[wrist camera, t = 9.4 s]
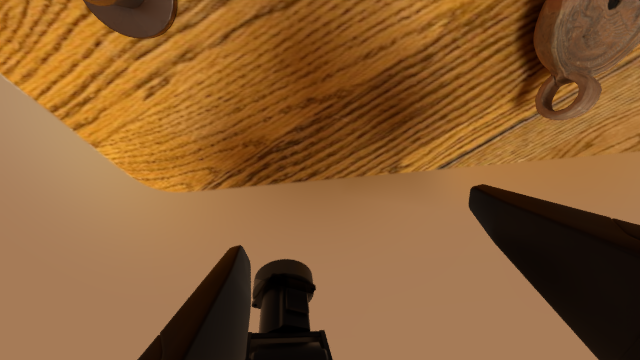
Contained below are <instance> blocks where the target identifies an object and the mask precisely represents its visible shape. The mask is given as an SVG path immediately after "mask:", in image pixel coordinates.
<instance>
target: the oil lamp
mask: <svg viewBox="0 0 640 360" xmlns="http://www.w3.org/2000/svg"><path fill="white" fill-rule="evenodd" d="M533 41H534V47H535V51H536V54H537V56H538V58H539V60H540V62H541V63H542V64H543V65H544V67H545V68H547V69H548V70H549V71H550V73H551V76H550V77H549V78H548V79H547V80H546V81H545V82H544V83H543V84H542V86H541V87H540V89H539V91H538V93H537V96H536V99H535V103H536V109H537V111H538V113H539V114H540V115H542V116H543V117H545V118H549V119H554V120H568V119H571V118H575V117H579V116H581V115H582V114H584V113H586V112H587V111H589V110H590V109H591V108H592V107H593V106H594V105H595V104H596V102H597V101H598V99H599V97H600V94H601V91H602V89H601V85H600V83H599V82H598V81H597V80H596V79H595V78H594V76H597V75H599V74H602V73H604V72H606V71H608V70H610V69H611V68H612V67H614V66H615V65H617V64H618V62H621V61H622V60H623V59H624V58H625V57H626V56H627V55H628V54H629V53H630V52H631V51H632V50H633V49H634V48H635V47H636V46H637V45H638V44H639V43H640V0H546V1H545V3H544V4H543V6H542V9H541V11H540V13H539V16H538V19H537V23H536V26H535V31H534V38H533ZM572 82H575V83H576V84H578V87H579V93H578V96H577V98H576V99H575V100H574V102H573V103H572V104H571V105H569V106H568V107H567V108H565V109H562V110H558V111H554V110H553V109H552V100H553V98H554V96H555V94H556V92H557V90H558V89H559V88H560V87H561V86H563V85H565V84H568V83H572Z"/></svg>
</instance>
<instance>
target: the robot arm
mask: <svg viewBox="0 0 640 360" xmlns="http://www.w3.org/2000/svg"><path fill="white" fill-rule="evenodd" d="M469 208H470V210H471V211H472V213H473V214H474V216H475V217H476V218H477V220H478V221H479V223H480V224H481V225H482V227H483V228H484V229H485V231H486V232H487V234H488V235H489V236H490V238H491V239H492V240H493V242H494V243H495V244H496V245H497V246H498V247H499V249H500V250H501V251H502V252H503V253H504V254H505V255H506V256H507V258H508V259H509V260H510V261H511V262H512V263H513V264H514V265H515V267H516V268H517V269H518V270H519V271H520V272H521V273H522V274H523V275H524V277H525V278H526V279H527V280H528V281H529V282H530V283H531V284H532V286H533V287H534V288H535V289H536V290H537V291H538V292H539V293H540V294H541V296H542V297H543V298H544V299H545V300H546V301H547V302H548V303H549V305H550V306H551V307H552V308H553V309H554V310H555V311H556V312H557V313H558V315H559V316H560V317H561V318H562V319H563V320H564V321H565V322H566V323H567V325H568V326H569V327H570V328H571V329H572V330H573V331H574V333H575V334H576V335H577V336H578V337H579V338H580V339H581V340H582V342H584V344H585V345H586V346H587V347H588V348H589V349H590V351H591V352H592V353H593V354H594V355H595V356H596V357H597V358H598V359H599V360H640V225H637V224H633V223H629V222H625V221H621V220H618V219H611V218H610V217H606V216H603V215H599V214H595V213H591V212H587V211H583V210H579V209H576V208H572V207H568V206H564V205H561V204H557V203H553V202H549V201H545V200H541V199H538V198H534V197H529V196H526V195H522V194H519V193H515V192H511V191H507V190H503V189H500V188H496V187H492V186H488V185H484V184H482V185H478V186H473V187H472V188H471V190H470V197H469ZM250 268H251V267H250V261H249V258H248V256H247V254H246V252H245V250H244V249H243V247H242V246H241V245H239V246H234V247H232V248H230V249H229V250H228V251H227V252H226V253H225V255H224V256H223V257H222V258H221V259H220V261H219V262H218V263H217V264H216V265H215V267H214V268H213V269H212V270H211V272H210V273H209V274H208V275H207V276H206V278H205V279H204V280H203V281H202V282H201V284H200V285H199V286H198V287H197V289H196V290H195V291H194V292H193V293H192V295H191V296H190V297H189V298H188V300H187V301H186V302H185V303H184V304H183V306H182V307H181V308H180V309H179V311H178V312H177V313H176V314H175V316H173V318H172V319H171V320H170V321H169V323H168V324H167V325H166V326H165V328H164V329H163V330H162V331H161V332H160V335H158V336H157V337H156V338H155V339H154V341H153V342H152V343H151V344H150V345H149V347H148V348H147V349H146V350H145V352H144V353H143V354H142V355H141V356H140V357H139V359H138V360H332V356H331V352H330V349H329V345H328V342H327V338H326V334H325V331H324V330H320V331H310V323H309V306H308V299H309V298H310V296H311V295H312V294H313V293H314V291H315V290H316V285H314V284H312V283H308V282H305V281H301V280H298V279H294V278H291V277H287V276H283V275H280V274H276V273H272V274H271V275H270V276H269V278H268V279H267V281H266V282H265V284H264V285H263V287H262V288H261V290H260V291H259V293H258V294H257V296H256V297H255V299H254V300H253V301H252V307H254V308H258V309H261V313H260V325H259V333H252V332H248V327H249V318H250V307H251V277H250V276H251V272H250V271H251V269H250Z"/></svg>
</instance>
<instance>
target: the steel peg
mask: <svg viewBox="0 0 640 360" xmlns="http://www.w3.org/2000/svg"><path fill="white" fill-rule="evenodd" d="M83 1H84V2H85V4H86V5H87V7H88V8H89V9H90V10H91V12H92V13H93V14H94V15H95V16H96V17H97V18H98V19H99V20H100V21H101V22H103V23H104V24H105V25H107V26H108V27H109V28H111V29H113V30H114V31H116V32H118V33H120V34H123V35H125V36H128V37H133V38H153V37H156V36H159V35H161V34H162V33H164V32H165V31H166V30H167V29H168V28H169V27H170V26H171V24H172V22H173V21H174V18H175V15H176V10H177V0H83Z"/></svg>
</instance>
